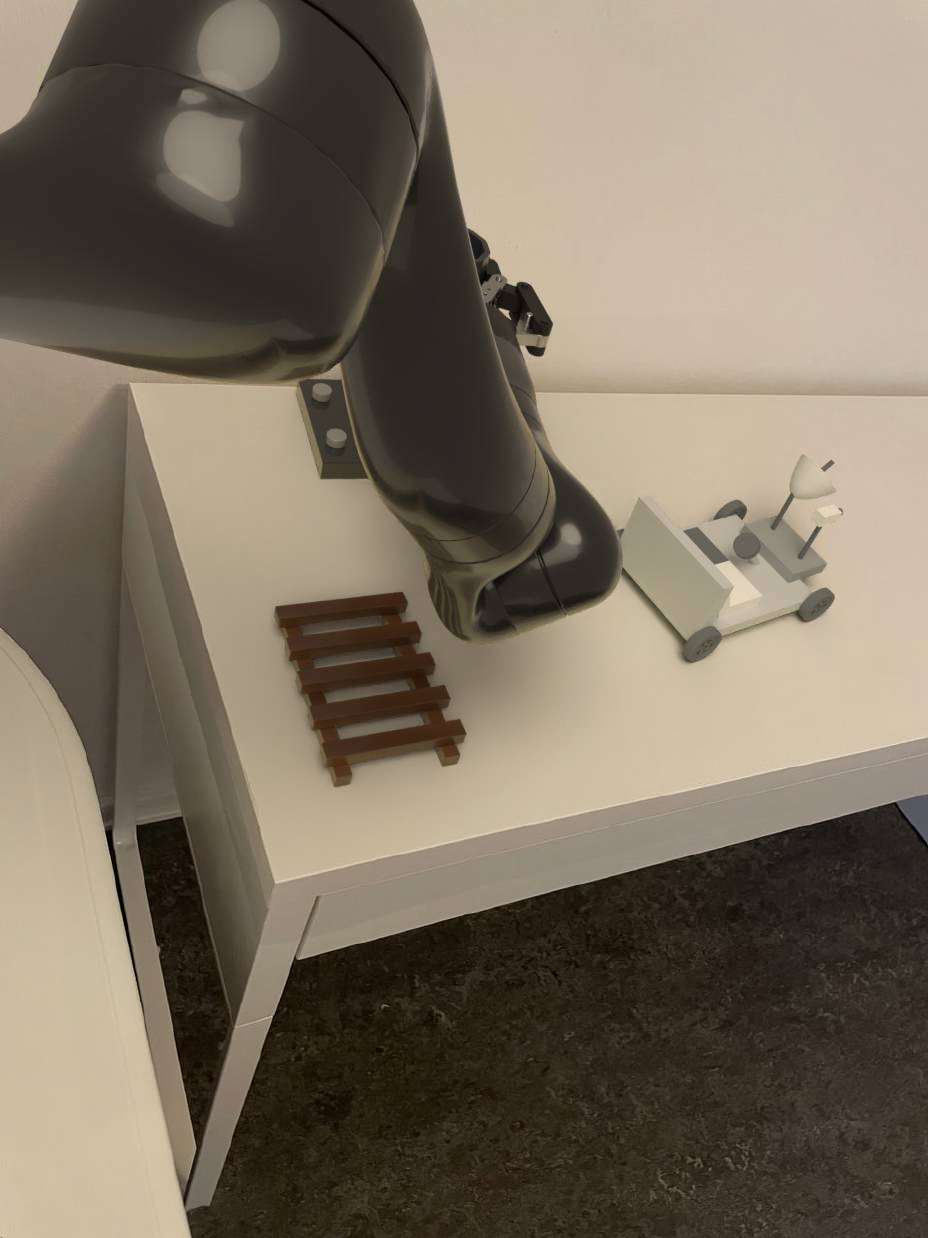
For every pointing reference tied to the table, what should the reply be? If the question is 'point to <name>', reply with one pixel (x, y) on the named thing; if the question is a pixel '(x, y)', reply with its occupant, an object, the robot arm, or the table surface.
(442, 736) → the rack
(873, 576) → the table surface
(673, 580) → the toy car
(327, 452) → the stove
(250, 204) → the robot arm
